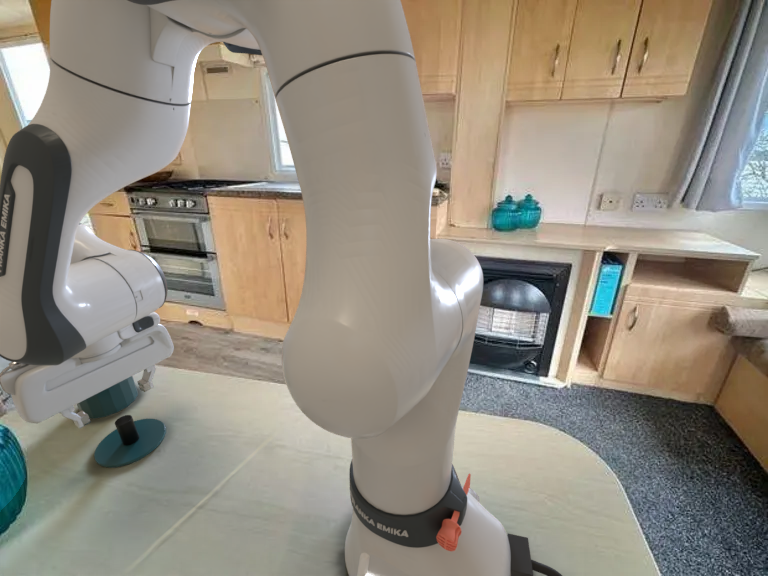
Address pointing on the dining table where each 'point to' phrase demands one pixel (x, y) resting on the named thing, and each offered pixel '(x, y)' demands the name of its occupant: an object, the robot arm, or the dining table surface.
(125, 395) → the pot
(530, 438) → the dining table surface
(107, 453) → the lid
